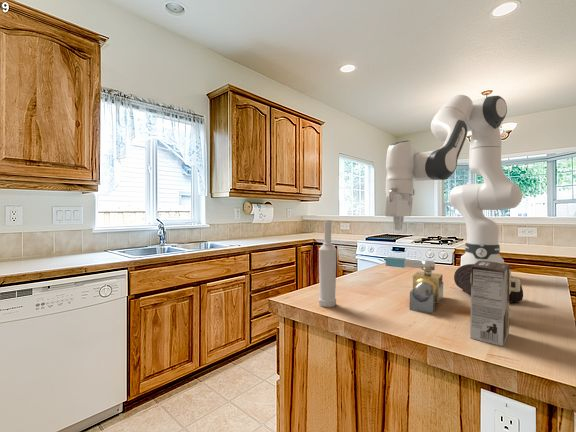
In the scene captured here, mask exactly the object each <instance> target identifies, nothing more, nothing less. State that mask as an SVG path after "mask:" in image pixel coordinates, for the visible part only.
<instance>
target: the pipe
mask: <svg viewBox="0 0 576 432" xmlns="http://www.w3.org/2000/svg"><path fill="white" fill-rule="evenodd" d="M473 265H474V264H467V265H463V266H461V265H460V266H459V267H458V268H457V269H456V270H455V272H454V275H453V280H454V284H455V286H457V287H458V288H460V289H461V290H463V291H465V292H466V294H468V296H469V297H470V298H471V271H472V266H473ZM511 287H513V288H515V282H511ZM523 299H524V289H523V286H522V284H520V292H514V291H511V293H510V294H509V303H517V302H521V301H522V300H523Z"/></svg>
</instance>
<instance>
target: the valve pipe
mask: <svg viewBox="0 0 576 432" xmlns="http://www.w3.org/2000/svg"><path fill="white" fill-rule="evenodd" d="M442 299H444V281H443V274H442V273H434V272H433V270H432V271H429V270H423V271H417V272H416V273H414V274H412V289H411V290H410V291H409V310H411V311H416V312H421V313H426V314H432V315H433V314H434V312H435V310H436V309H435V307H436V306H435V305H436V303H437V304H439V303H440V301H441V300H442Z"/></svg>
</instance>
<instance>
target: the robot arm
mask: <svg viewBox="0 0 576 432" xmlns="http://www.w3.org/2000/svg"><path fill="white" fill-rule="evenodd" d="M507 112H508V106H507V103H506V100H505V99H504V98H503V97H502V96H500V95H490V96H487V97H484V98H480V99H476V100H472V99H471V98H470V97H469V96H467V95H465V94H457V95H453V96H452V97H451V98H449V99H448V100H447V101H446V102H445V103H444V104H443V105H441V107H440V108H439V109H438V111H437V112H436V113H435V115H434V116H433V118H432V120H431V122H430V132H431V133H432V135H433V137H435V139H437V140H440V141H441V142H444V143H443V145H442V146H441V147H439V148H437V149H434V150H430V151H429V150H428V151H424V152H420V151H418V150H416V149H415V147H414V145H413V142H412V141H411V140H402V141H395V142H393V143H391V144H389V146H388V148H387V150H386V159H385V170H386V178H385V193H384V194H385V195H386V196H385V203H384V204H385V205H384V215H385V217H388V218H391V217H392V218H393V219H392V220H393V224H394V230H395V231H402V230H403V224H404V220H405V219H404V217H411V216H412V212H413V211H412V209H413V198H414V197H413V196H415V189H414V182H420V181H421V182H422V181H423V182H424V181H445V180H448V179H449V178H451V177H452V175H453V174H454V173H455V171H456V169H457V166H458V159H459V157H460V154H461V151H462V149H463V146H464V144H465V141H466V139H467V136H468V132H471V135H470V136H471V137H470V140H469V153H468V169H469V170H470V171H471V172H472V173H473V174H475V175H478V176H481V177H482V180H483V182H482V183H464V184H460V185H457V186H454V187H452V189H451V190H450V191H449V195H448V200H449V204H450V205H451V206H452V207H453V209H456V210H457V211H458V212H459V213H460V215H461V216H462V218H463V219H464V222H465V223H464V224H465V228H466V229H465V230H466V243H465V246H464V249H465V250H464V251H465V253H463V254H462V255H461V256H460V267H461V266H463V265H467V264H475V263H476V262H478V261H489V262H497V263H503V264H505V260H504V259H503V257H502V256H501V255H500V251H501V248H500V246H501V245H500V244H499V240H500V239H499V234H500V233H499V231H500V229H499V225H498V224H497V223H496V222H495V221H494V220H492V219H490V218H488V217H487V216H485V215H484V211H502V210H503V211H505V210H509V209H514V208H517V206H519V205H520V203H521V202H522V199H523V191H522V189H521V188H520V186H519V184H516V183H515V182H513V181H512V180H510V179H509V178H508V177H507V175H506V174H505V172H504V170H503V167H502V136H501V129H500V126H501V125H502V122H503V121H504V120H505V118H506V116H507V114H508V113H507Z"/></svg>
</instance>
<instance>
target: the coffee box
mask: <svg viewBox="0 0 576 432" xmlns="http://www.w3.org/2000/svg"><path fill="white" fill-rule="evenodd" d="M510 267H511V265H510V263H504V264H503V263H497V262H489V261H478V262H476V263H475V264H474V265H473V266H472V271H471V297H470V319H469V320H470V321H469V322H470V327H469V328H470V331H469V333H470V334H469V335H470V337H469V338H470V339H472V340H475V341H480V342H484V343H488V344H493V345H496V346H501V347H504V346H505V345H506V341H507V338H508V335H509V331H510V302H509V281H510V270H511V268H510Z"/></svg>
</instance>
